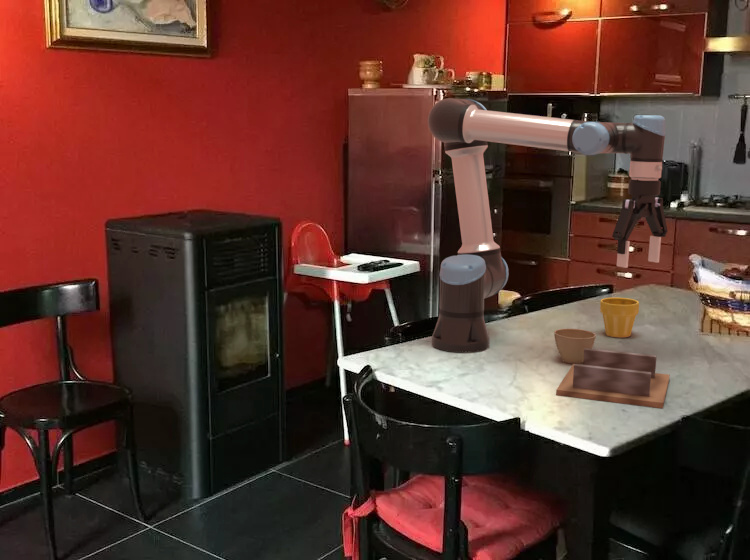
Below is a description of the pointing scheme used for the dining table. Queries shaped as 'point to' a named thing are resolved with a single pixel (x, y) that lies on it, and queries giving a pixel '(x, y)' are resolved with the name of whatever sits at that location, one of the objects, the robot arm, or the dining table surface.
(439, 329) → the robot arm
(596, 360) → the cup cradle
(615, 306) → the plant pot
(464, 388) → the dining table surface
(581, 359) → the flower pot
